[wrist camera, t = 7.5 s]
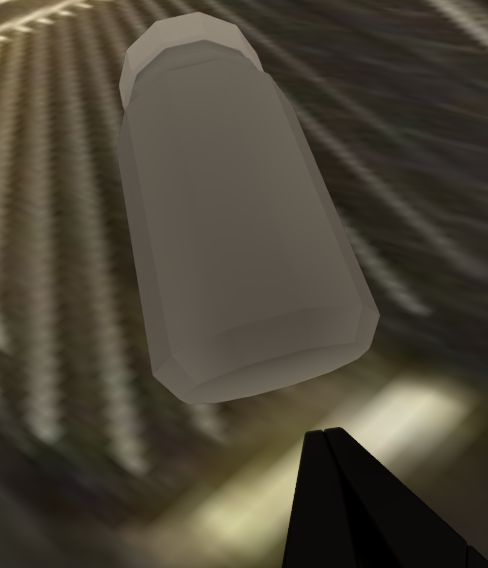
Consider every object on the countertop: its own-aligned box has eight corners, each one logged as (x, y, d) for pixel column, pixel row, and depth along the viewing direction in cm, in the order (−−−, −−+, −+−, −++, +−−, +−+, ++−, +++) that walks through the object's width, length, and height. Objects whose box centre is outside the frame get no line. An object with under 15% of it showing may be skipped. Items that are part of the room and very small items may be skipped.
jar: (157, 373, 11) (93, -13, 18) (157, 420, 19) (114, 148, 26) (444, 315, 13) (290, 1, 20) (332, 379, 22) (250, 142, 29)
